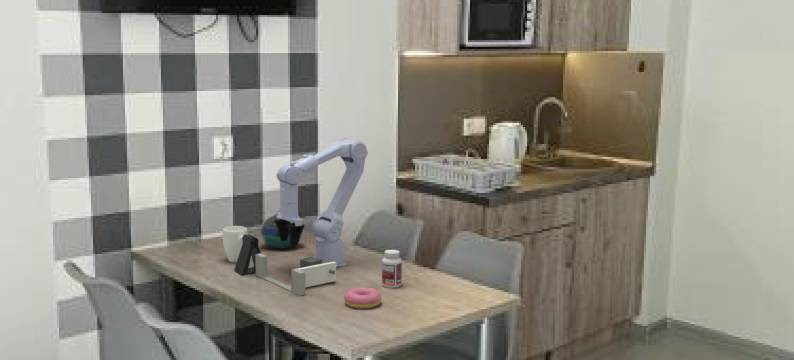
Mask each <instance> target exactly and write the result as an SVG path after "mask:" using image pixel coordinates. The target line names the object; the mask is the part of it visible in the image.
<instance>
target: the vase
mask: <svg viewBox="0 0 794 360" xmlns="http://www.w3.org/2000/svg"><path fill="white" fill-rule="evenodd" d="M279 211H280V210H277V211H276V213H274V214H273V215H271V216H269V217H268V218H266V219H265V220H264V221H263V223H262V224H261V227H260V234H261V235H260V236H261V238H262V240H263V242H264V243H265V244H266V245H267V246H268V247H271V248H274V249H280V250H283V249H290V248H293V247H294V246H291V244H290V236H289V231H288V239H287V240H286V241H281V240H280V236H279V232H278V229H277V226H276V224H275V222H274V220H276V219H277V212H279ZM291 224H292V223H290V225H291ZM303 233H304V229H303V230H302V232H301V235H300V238H299V242H298V244H299V243H300V241H301V240H302V238H303V235H304V234H303Z"/></svg>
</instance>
